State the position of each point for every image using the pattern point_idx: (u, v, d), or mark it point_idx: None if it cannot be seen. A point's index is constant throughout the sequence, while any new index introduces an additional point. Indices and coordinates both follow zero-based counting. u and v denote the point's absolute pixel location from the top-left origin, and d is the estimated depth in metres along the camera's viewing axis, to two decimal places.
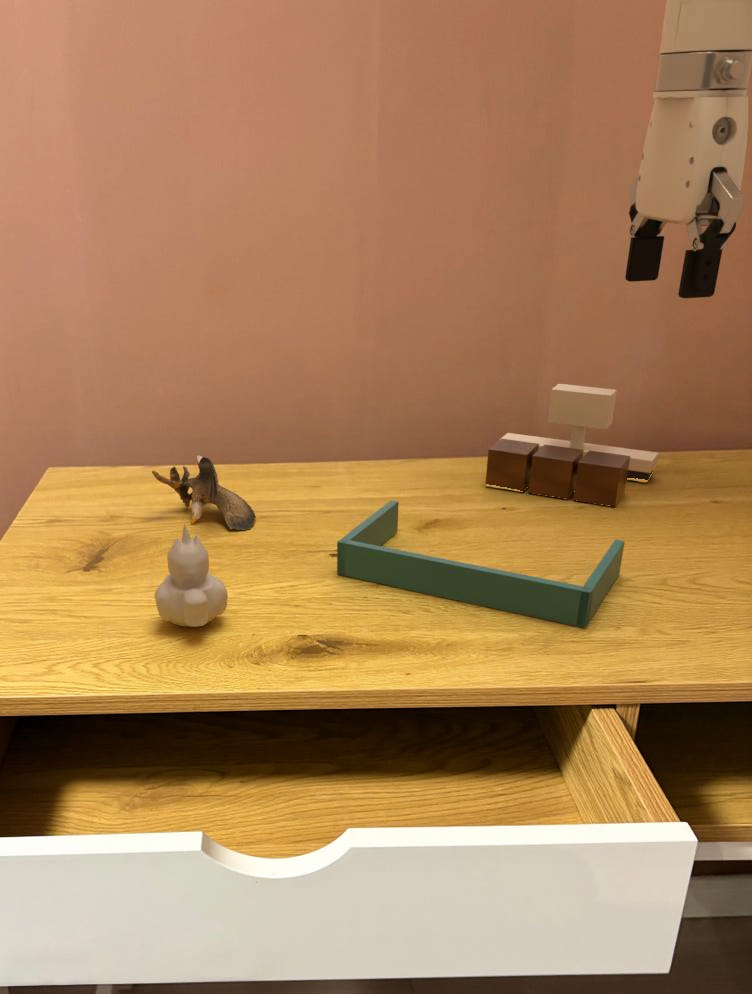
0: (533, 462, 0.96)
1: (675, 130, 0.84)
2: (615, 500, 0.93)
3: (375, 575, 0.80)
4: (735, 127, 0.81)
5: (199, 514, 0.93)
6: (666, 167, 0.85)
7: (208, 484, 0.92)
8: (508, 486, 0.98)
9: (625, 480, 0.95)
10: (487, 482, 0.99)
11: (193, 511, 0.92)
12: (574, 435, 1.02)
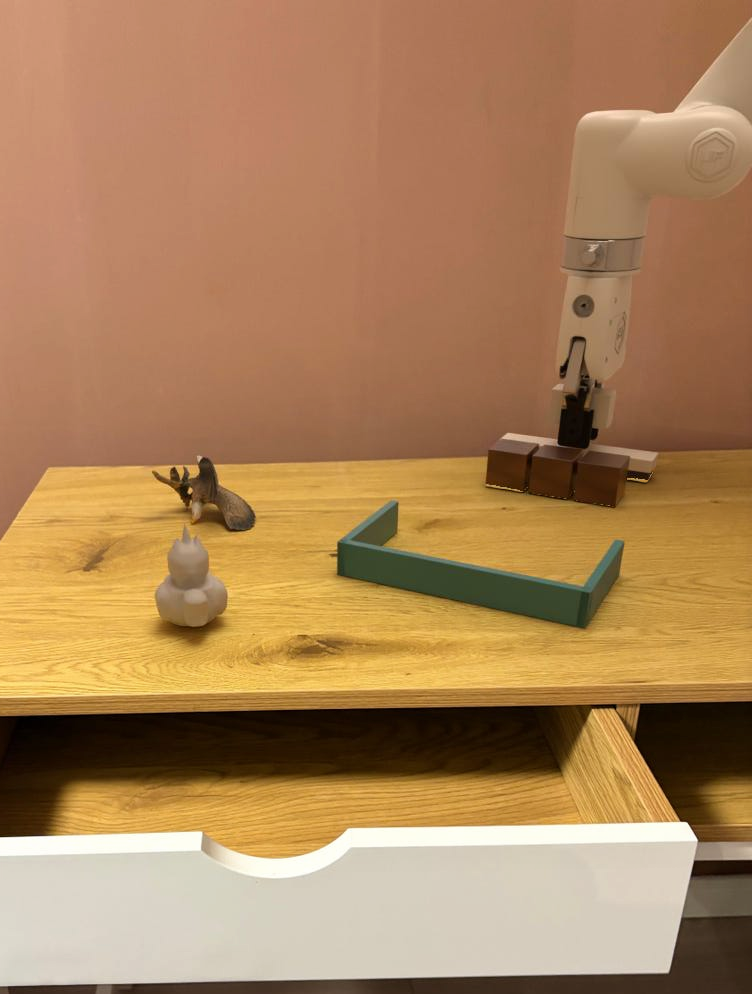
0: (533, 462, 0.96)
1: None
2: (615, 500, 0.93)
3: (375, 575, 0.80)
4: (594, 305, 0.91)
5: (199, 514, 0.93)
6: None
7: (208, 484, 0.92)
8: (508, 486, 0.98)
9: (625, 480, 0.95)
10: (487, 482, 0.99)
11: (193, 511, 0.92)
12: None
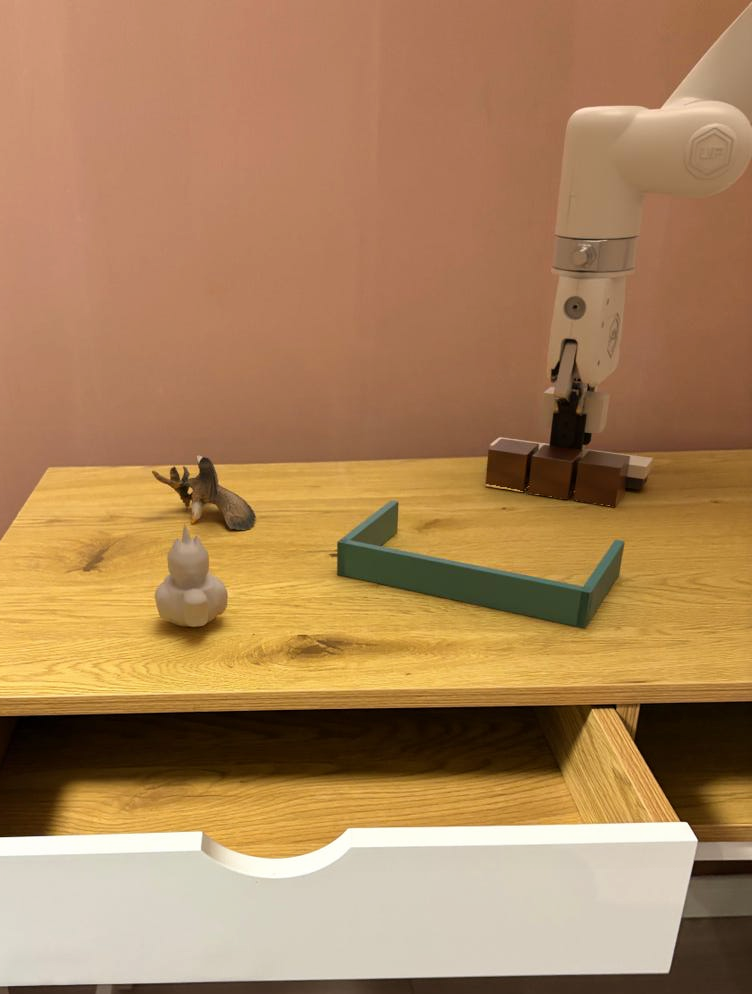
0: (532, 462, 0.96)
1: None
2: (615, 500, 0.93)
3: (375, 575, 0.80)
4: (586, 306, 0.89)
5: (199, 514, 0.93)
6: None
7: (208, 484, 0.92)
8: (508, 486, 0.98)
9: (625, 480, 0.95)
10: (487, 482, 0.99)
11: (193, 511, 0.92)
12: None
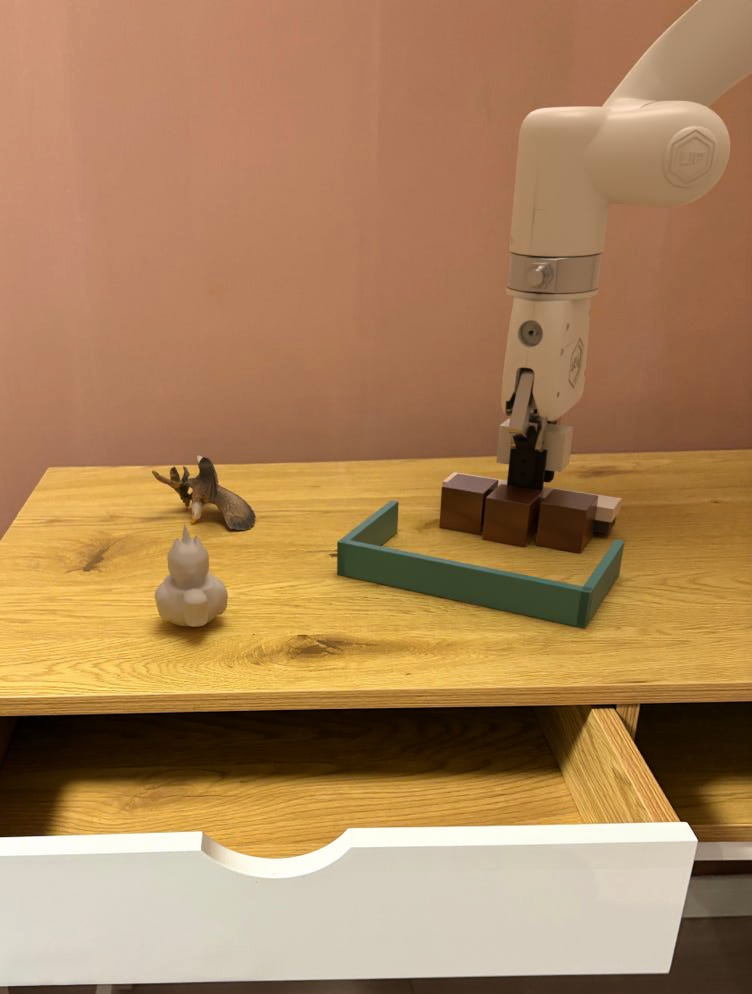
0: (487, 505, 0.86)
1: None
2: (581, 545, 0.84)
3: (375, 575, 0.80)
4: (543, 332, 0.79)
5: (199, 514, 0.93)
6: None
7: (208, 484, 0.92)
8: (464, 527, 0.89)
9: (593, 522, 0.86)
10: (441, 522, 0.90)
11: (193, 511, 0.92)
12: None
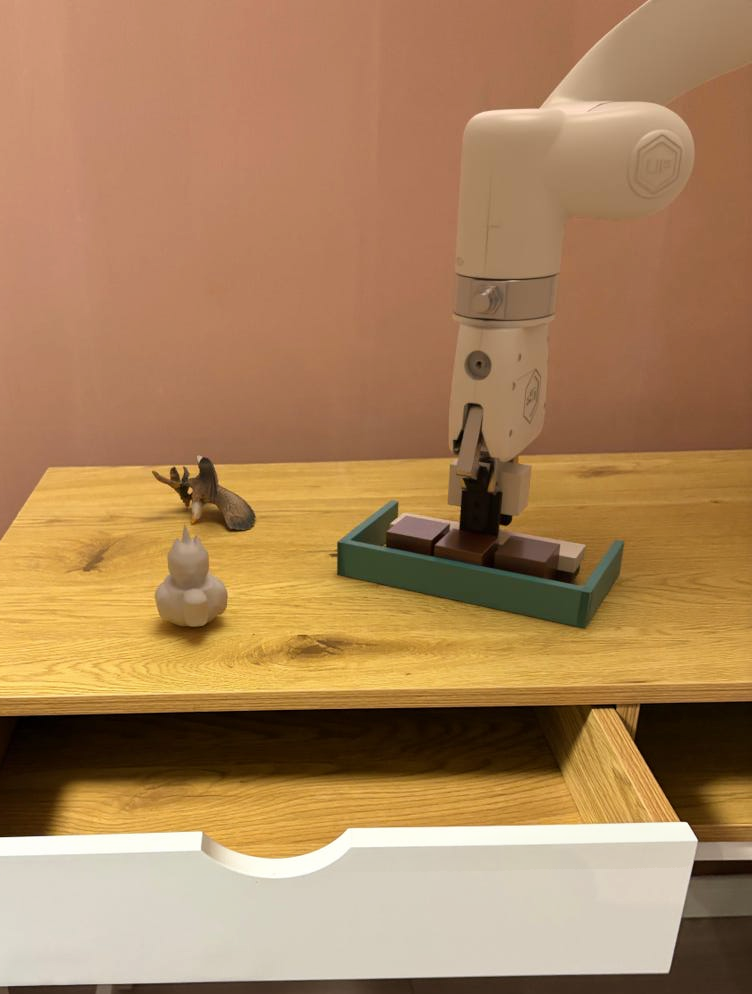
0: (435, 553, 0.77)
1: None
2: None
3: (375, 575, 0.80)
4: (492, 364, 0.70)
5: (199, 514, 0.93)
6: None
7: (208, 484, 0.92)
8: None
9: (555, 573, 0.77)
10: None
11: (193, 511, 0.92)
12: None
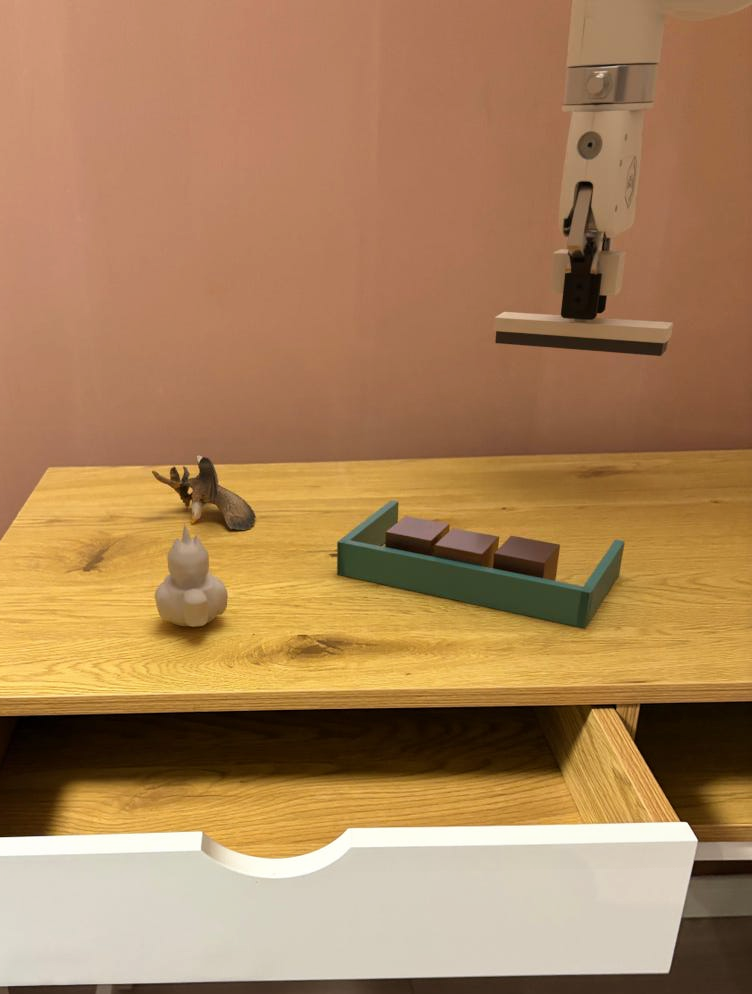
0: (435, 553, 0.77)
1: None
2: None
3: (375, 575, 0.80)
4: (602, 142, 0.81)
5: (199, 514, 0.93)
6: None
7: (208, 484, 0.92)
8: None
9: (554, 574, 0.77)
10: None
11: (193, 511, 0.92)
12: None
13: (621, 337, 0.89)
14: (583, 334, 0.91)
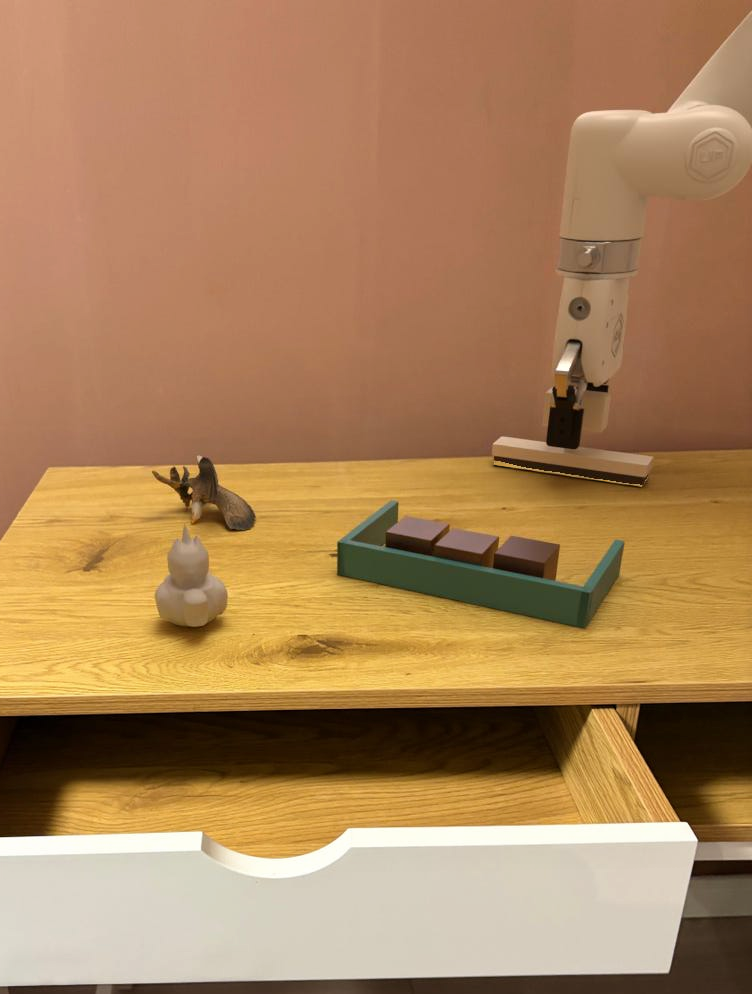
0: (435, 553, 0.77)
1: None
2: None
3: (375, 575, 0.80)
4: (590, 307, 0.90)
5: (199, 514, 0.93)
6: None
7: (208, 484, 0.92)
8: None
9: (554, 574, 0.77)
10: None
11: (193, 511, 0.92)
12: None
13: (606, 469, 0.99)
14: (572, 464, 1.01)
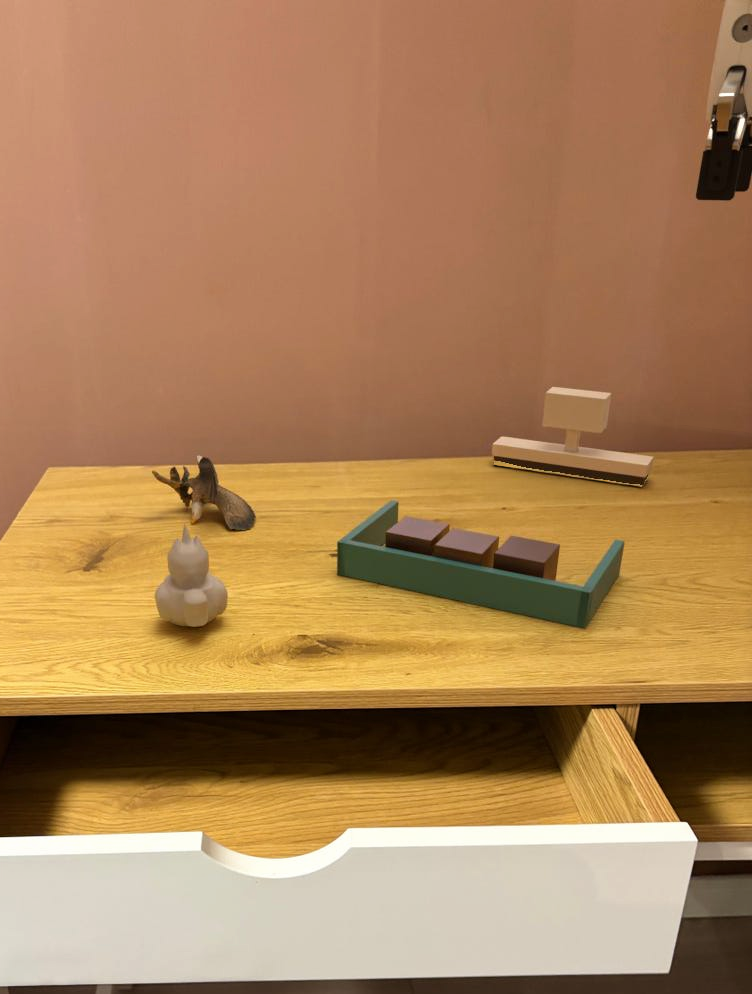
0: (435, 553, 0.77)
1: None
2: None
3: (375, 575, 0.80)
4: None
5: (199, 514, 0.93)
6: None
7: (208, 484, 0.92)
8: None
9: (554, 574, 0.77)
10: None
11: (193, 511, 0.92)
12: (569, 439, 1.00)
13: (606, 469, 0.99)
14: (572, 464, 1.01)
